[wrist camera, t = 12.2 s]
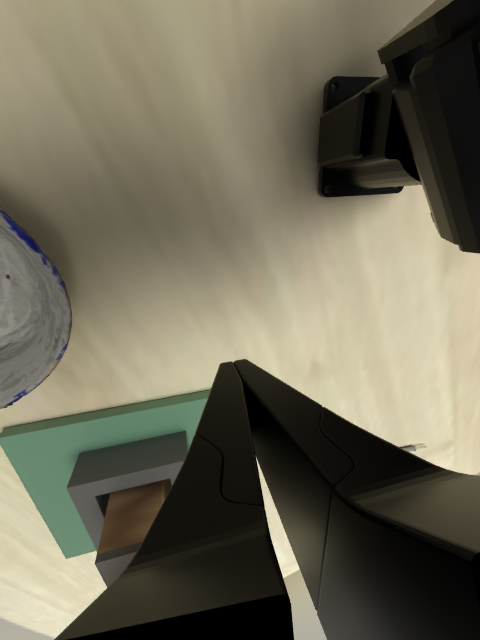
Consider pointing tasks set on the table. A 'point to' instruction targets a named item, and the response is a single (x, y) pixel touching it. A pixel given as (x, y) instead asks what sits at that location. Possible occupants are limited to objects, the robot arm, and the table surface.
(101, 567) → the plug
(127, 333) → the table surface
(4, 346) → the bowl
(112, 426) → the board
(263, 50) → the table surface
